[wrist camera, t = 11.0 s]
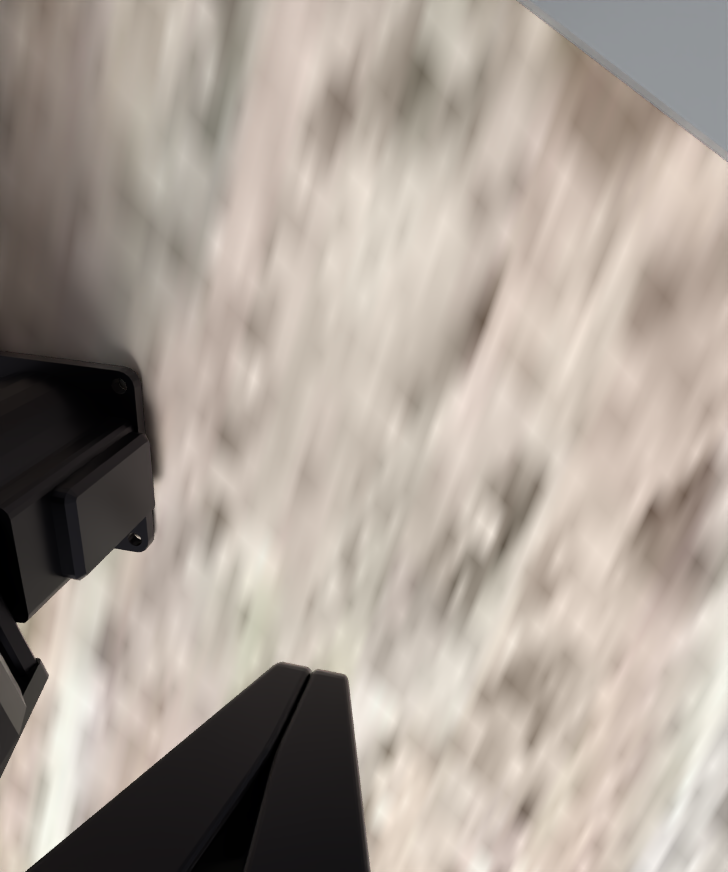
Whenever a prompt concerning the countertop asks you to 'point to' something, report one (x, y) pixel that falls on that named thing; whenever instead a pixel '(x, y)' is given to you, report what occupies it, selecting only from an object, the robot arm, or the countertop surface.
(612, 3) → the board
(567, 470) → the countertop surface
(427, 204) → the countertop surface
